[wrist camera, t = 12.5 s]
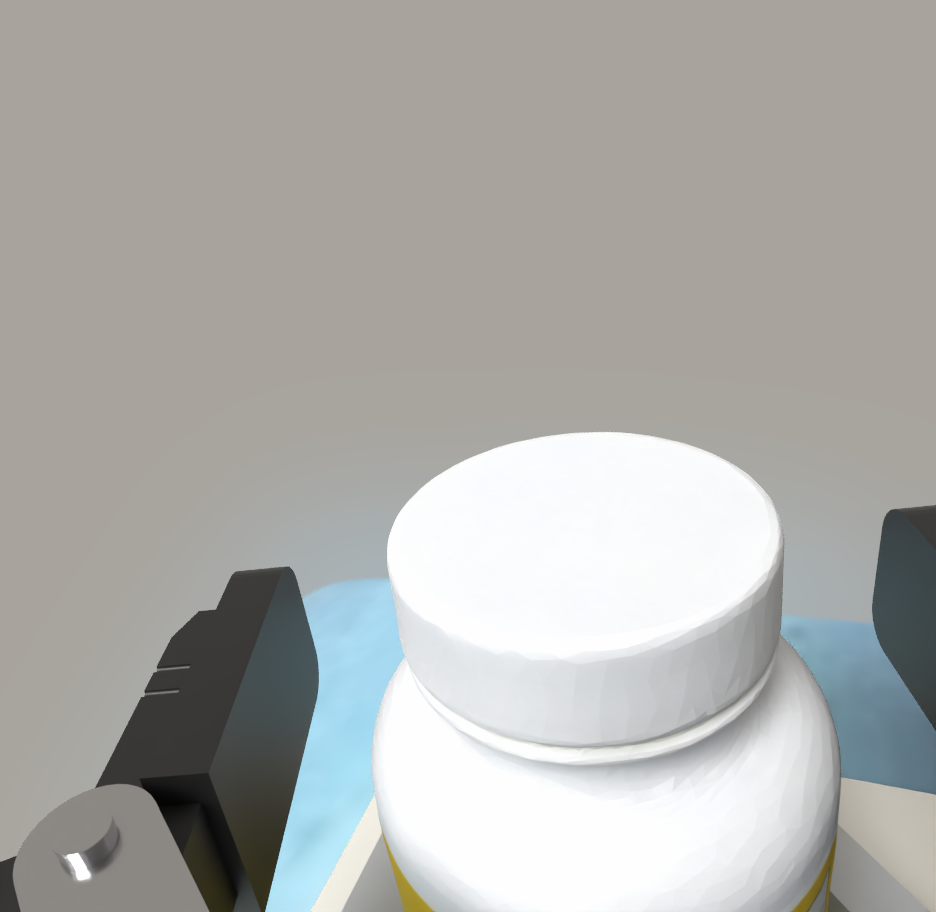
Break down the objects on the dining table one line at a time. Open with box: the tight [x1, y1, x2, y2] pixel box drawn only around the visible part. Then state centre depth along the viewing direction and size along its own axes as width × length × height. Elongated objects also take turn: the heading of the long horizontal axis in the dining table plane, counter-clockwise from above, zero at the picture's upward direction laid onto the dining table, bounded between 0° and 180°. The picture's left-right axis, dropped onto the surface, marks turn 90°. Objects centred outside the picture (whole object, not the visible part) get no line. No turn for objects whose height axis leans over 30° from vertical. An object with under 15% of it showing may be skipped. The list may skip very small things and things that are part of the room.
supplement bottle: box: [372, 432, 841, 912], centre depth 11 cm, size 5×5×10 cm
